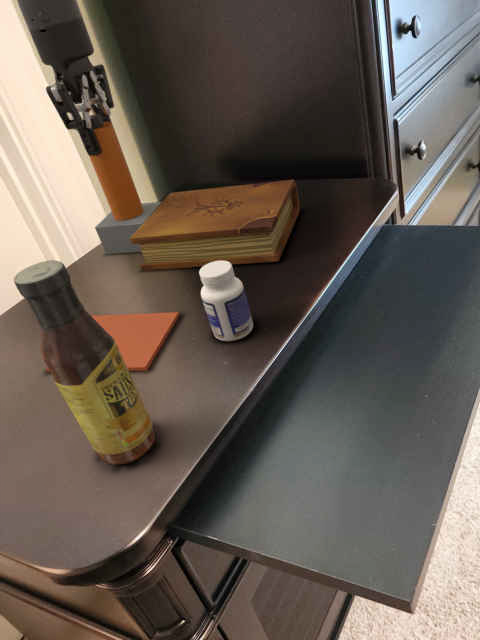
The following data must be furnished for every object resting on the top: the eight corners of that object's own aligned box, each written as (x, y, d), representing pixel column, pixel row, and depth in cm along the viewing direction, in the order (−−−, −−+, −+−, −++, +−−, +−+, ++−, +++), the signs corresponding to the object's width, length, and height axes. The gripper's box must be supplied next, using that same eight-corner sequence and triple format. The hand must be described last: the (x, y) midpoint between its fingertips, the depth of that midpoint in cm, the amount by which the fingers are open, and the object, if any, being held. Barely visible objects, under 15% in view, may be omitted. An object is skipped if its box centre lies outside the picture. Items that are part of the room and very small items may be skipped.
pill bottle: (255, 316, 69) (239, 254, 63) (252, 339, 65) (235, 276, 59) (216, 321, 70) (197, 261, 64) (211, 344, 66) (190, 282, 60)
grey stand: (106, 254, 92) (94, 227, 89) (127, 231, 98) (116, 205, 95) (152, 251, 90) (142, 223, 87) (170, 228, 96) (161, 201, 93)
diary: (300, 210, 93) (295, 177, 89) (278, 262, 79) (271, 226, 76) (181, 220, 98) (171, 189, 94) (142, 270, 85) (129, 237, 81)
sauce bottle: (150, 465, 52) (57, 289, 39) (91, 470, 52) (-20, 300, 39) (164, 419, 56) (86, 248, 43) (110, 424, 57) (17, 259, 44)
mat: (48, 372, 67) (45, 368, 67) (90, 319, 76) (89, 315, 75) (147, 370, 64) (145, 367, 63) (179, 315, 72) (178, 311, 72)
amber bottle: (109, 221, 90) (68, 123, 79) (121, 209, 93) (84, 114, 83) (136, 219, 88) (99, 119, 78) (148, 206, 92) (113, 109, 82)
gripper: (57, 16, 78) (102, 137, 90) (1, 33, 68) (61, 167, 79) (101, 7, 77) (142, 131, 88) (51, 23, 66) (105, 161, 78)
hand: (103, 147), depth 84 cm, fingers closed on amber bottle, 5 cm apart
